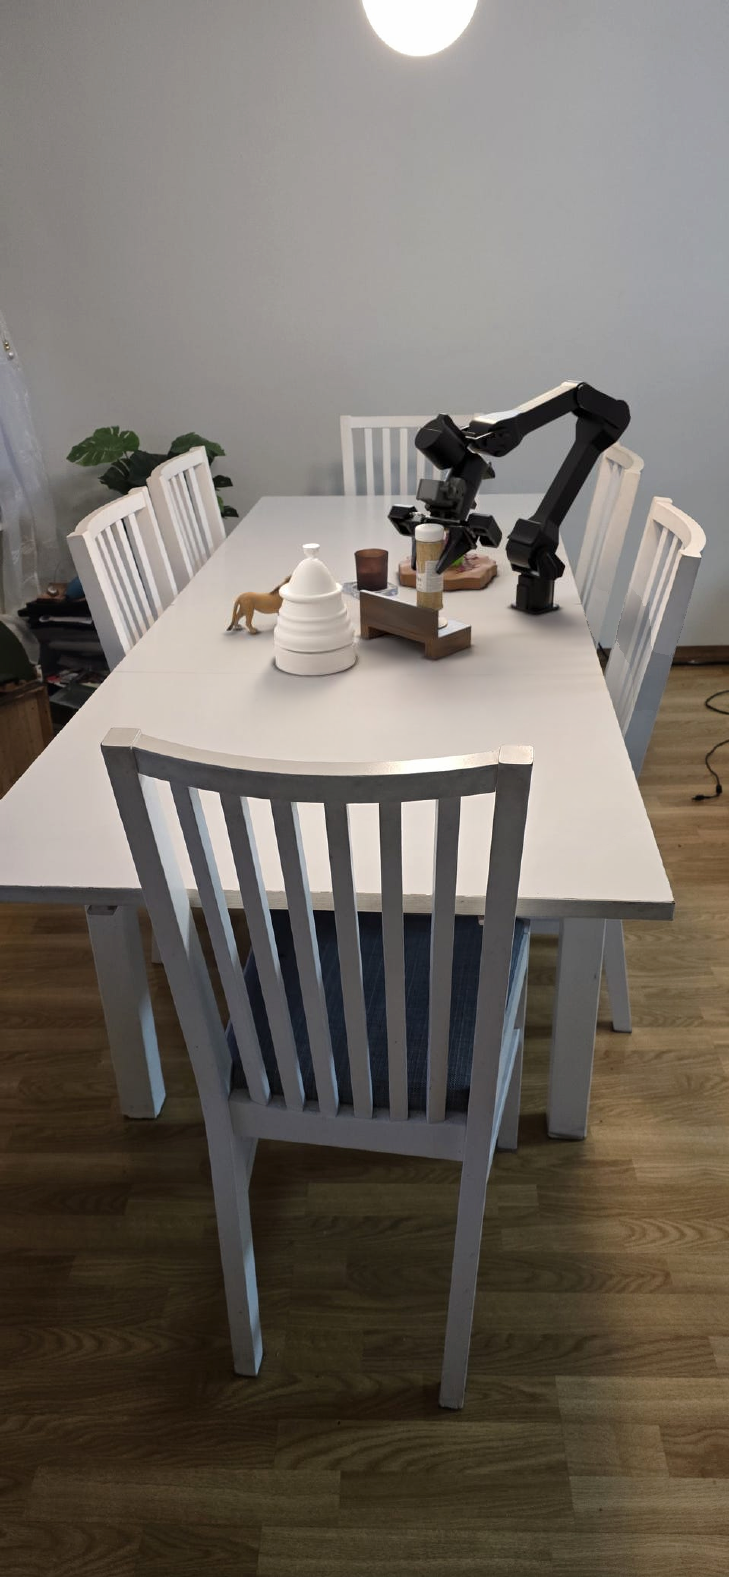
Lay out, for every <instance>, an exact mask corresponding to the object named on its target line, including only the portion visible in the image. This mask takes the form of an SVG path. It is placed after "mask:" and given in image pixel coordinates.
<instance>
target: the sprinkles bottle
mask: <svg viewBox="0 0 729 1577" xmlns="http://www.w3.org/2000/svg"><path fill="white" fill-rule="evenodd" d="M415 539H416V542H417V544H416V545H417V561H416V587H415V588H416V604H417V605H421V606H424V607H428V608H432V609H435V610H439V611H441V610H442V609H443V608H444V603H443V599H444V598H443V597H444V596H443V595H444V594H443V591H444V590H443V573H441V574H440V575H438V574H437V573H436V568H437V565H438V562H439V560H440V557H441V555H442V553H443V539H444V540H445V531H444V527H443V526H442V525H439V524H422V525H418V526H417V527H416V528H415Z"/></svg>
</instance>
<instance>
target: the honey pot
mask: <svg viewBox="0 0 729 1577" xmlns="http://www.w3.org/2000/svg"><path fill="white" fill-rule="evenodd" d="M302 550H303V553H304V555H305V556H306V557H305V558H304V559H303V560H301V561H300V562H299V564H298V565H297V566H296V567H295V569H294V571H293V573H292V574H293V575H292V577H291V579H290V581H289V583H287V584H285V585H283V586H282V587H281V588H280V589H279V595H280V596H281V597H282V598H283V602H282V606H281V608H280V609H279V617H278V616H277V619H276V625H275V626H274V630H273V641H274V642H273V643H274V656H275V666H276V667H277V668H278V669H279V670H281V671H282V672H283V671H284V672H285V673H289V674H293V675H300V676H324V675H330V674H335V673H339V672H342V671H345V670H347V669H349V668H350V667H352V666H354V664H355V662H356V659H357V658H356V640H355V638H356V636H355V632H356V631H355V627H354V623H353V622H352V621H351V616H350V614H349V613H348V607H347V605H346V604H345V603H344V599H343V597H342V594H343V592H344V588H343V586H342V585H341V584H340V583H338V582H336V581H335V579H334V578H333V575H332V574H331V573H330V572H331V571H330V570H328V567H327V566H326V565H325V564H324V563H323V562H322V561H321V560H320V559H319V558H316V557H317V556H318V554H319V552H320V544H318V543H305V544H303V545H302Z"/></svg>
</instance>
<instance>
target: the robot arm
mask: <svg viewBox="0 0 729 1577" xmlns="http://www.w3.org/2000/svg"><path fill="white" fill-rule="evenodd" d="M569 413H571V415H573V416H574V417H575V418H577V420H576V421H575V424H574V426H575V427H574V428H575V430H574V443H573V444H572V446H571V448H570V449H569V451H568V453H567V455H566V456H565V459H564V460H563V462H562V464H561V466H560V468H559V470H558V471H557V473H556V475H555V476H554V478H553V480H552V482H551V484H550V486H549V488H548V489H547V490H546V493H545V494H544V496H543V498H542V499H541V501H540V504H539V505H538V507H537V508H536V511H535V512H534V513H533V515H531V516H530V517H529V518H527V519H526V518H522V517H519V518H518V519H516V521H515V524H514V526H513V528H512V530H511V532H510V533H509V534H508V535H507V536H506V539H508V540H507V541H506V545H505V548H504V550H505V552H506V558H507V560H508V561H509V564H510V568H511V571H512V572H515V573H519V574H518V575H517V584H516V591H515V602H511V603H510V607H511V608H514V609H517V610H520V611H522V612H525V613H529V614H532V615H538V614H542V613H545V612H548V611H549V612H550V611H553V610H556V609H560V604H559V603H555V602H554V600H555V584H556V581H557V580H558V579H561V578H563V575H564V573H565V570H566V564H565V562H563V561H562V559H561V558H560V557H559V556H558V555H557V554H556V553H557V550H558V548H559V545H560V527H561V525H562V523H563V521H564V520H565V518H566V516H567V514H568V513H569V511H570V509H571V507H572V506H573V504H574V502H575V500H576V498H577V496H578V494H579V493H580V491H581V489H582V488H583V486H584V484H585V483H586V481H587V479H588V477H589V475H590V473H591V472H592V470H593V468H594V466H595V465H596V463H597V461H598V459H599V457H600V456H601V454H602V453H604V452H605V451H606V450H608V449H609V448H610V447H612V446H613V445H615V444H616V443H617V442H618V441H619V440H620V438H621V437H622V436H623V434H624V433H625V431H626V430H627V429H628V428H629V424H630V423H631V419H632V416H631V410H630V407H629V405H628V402H626V401H625V400H624V399H617V398H615V397H612V396H610V395H608V394H606V393H604V392H602V391H600V390H598V389H596V388H595V387H594V386H592V385H590V384H589V383H588V382H585V381H579V380H571V379H570V380H565V381H563V382H562V383H560V385H559V386H557V387H554V388H552V389H551V390H549V391H546V392H545V393H543V394H541V395H539V396H536V397H535V398H533V399H531V400H529V401H527V402H524V403H522V404H521V405H519V406H516V407H514V408H512V409H510V410H505V411H498V412H497V411H496V412H492V413H487V414H484V415H480V416H476V417H475V418H473V419H472V420H471V421H470V422H469V424H468V425H466V426H464V427H461V428H460V427H459V426H457V424H455V422H454V420H453V418H452V417H451V416H450V415H449V414H448V413H443V412H440V413H438V414H437V415H436V418H433V419H431V420H429V421H428V422H427V423H426V424H425V425H424V426H423V427H420V428H419V430H418V431H417V433H416V435H415V437H414V447H415V448H416V449H417V450H418V451H419V452H420V453H421V454H422V455H423V456H424V457H425V458H426V459H427V460H428V461H429V462H430V463H431V464H432V465H433V466H434V467H435V468H436V469H437V470H439V471H445V470H448V471H447V473H446V475H445V478H444V480H440V479H431V478H430V479H428V478H419V482H418V486H417V492H416V496H415V500H416V501H421V502H423V503H425V504H424V506H423V507H424V509H425V510H426V512H429V515H425V514H424V513H421V512H419V510H418V509H417V507H416V506H415V505H411V504H402V503H396V504H393V505H391V507H390V509H389V511H388V514H387V516H386V517H387V518H388V520H389V521H390V523H391V524H392V526H393V527H394V528H395V530H396V531H397V533H398V534H399V535H401V536H403V537H407V538H408V537H410V538H411V556H412V557H411V568H412V570H413V571H416V561H417V545H416V544H417V542H416V539H415V528H416V527H417V526H418V525H422V524H439V525H442V526H443V527H444V532H445V531H449V538H448V541H447V544H446V546H445V548H444V550H443V553H442V555H441V557H440V560H439V562H438V565H437V568H436V573H437V574H438V575H440V574H441V573H443V572H444V571H445V570H446V569H447V568H448V567H450V566H451V565H452V564H453V563H454V562H456V561H457V560H458V559H459V558H461V557H462V556H463V555H465V554H466V553H469V552H471V551H475V550H477V549H478V545H477V543H478V541H479V544H480V545H481V547H482V548H483V547H484V548H490V549H491V548H492V549H497V548H499V547H500V544H501V542H502V540H503V532H502V530H501V528H500V526H499V524H498V523H497V521H496V519H495V518H494V515H493V514H488V513H479V512H471V510H473V511H475V510H476V508H477V505H478V503H477V502H476V500H475V499H476V497H477V494H478V492H479V489H480V487H481V485H482V483H483V481H485V480H492V479H495V478H496V471H495V469H494V468H493V466H492V462H491V461H486V460H485V459H484V458H483V457H482V455H484V456H488V457H489V456H490V457H493V458H503V457H506V455H508V454H510V453H511V452H512V451H513V450H516V448H518V446H520V444H521V443H522V442H523V439H524V438H525V437H526V436H528V435H529V434H530V433H532V432H534V431H536V430H539V429H540V428H542V427H543V426H547V425H548V424H549V423H552V422H554V421H555V420H557V419H559V418H562V417H564V416H565V415H567V414H569ZM470 512H471V513H470Z"/></svg>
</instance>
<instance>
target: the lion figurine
mask: <svg viewBox="0 0 729 1577" xmlns="http://www.w3.org/2000/svg"><path fill="white" fill-rule="evenodd" d="M292 575H293V573H290V575H287V576H286V577H285V578H284V581H282V582H281V583H280V584H278V585H277V586H276V587H275V588H274V589H273V590H271V591H270V592H266V593H263V592H262V593H259V592H253V591H247V592H244V593H241V594H240V595H239V596H238V597H237V598H236V599H235V602H234V605H233V609H232V617H231V622H230V625H229V626H228V627H227V629H226V631H227V632H230V631H231V630H232V629H233V628H234V629H236V630H241V629H242V628H243V626H242V624H240V623H239V621H240V620H241V619H242V618H244V617H245V626H246V627H247V629H248V630H249V632H250V633H251V634H258V632H259V630H258V628H255V627H253V625H252V620H253V618H254V614H255V611H257V612H258V613H261V614H263V615H272V614H277V618H278V617H279V609H280V608H281V606H282V602H283V598H282V597H281V596H280V595H279V589H280V588H281V587H282V586H283V585H285V584H287V583H289V581H290V579H291V577H292Z"/></svg>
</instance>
